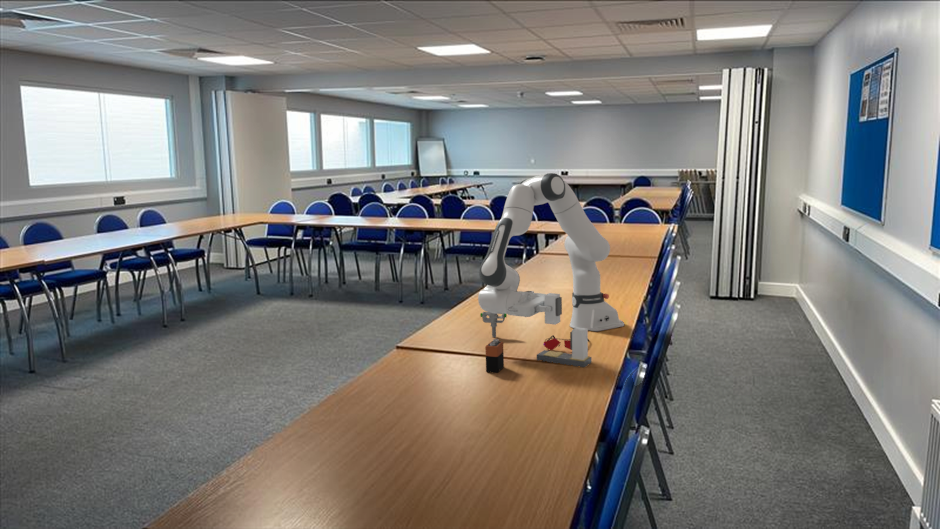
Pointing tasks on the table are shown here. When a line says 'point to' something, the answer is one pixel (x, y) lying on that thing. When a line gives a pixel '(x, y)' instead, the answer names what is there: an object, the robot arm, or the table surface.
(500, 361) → the battery
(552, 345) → the glasses
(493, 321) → the mechanical component
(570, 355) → the rail
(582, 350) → the block
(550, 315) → the block
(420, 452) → the table surface
